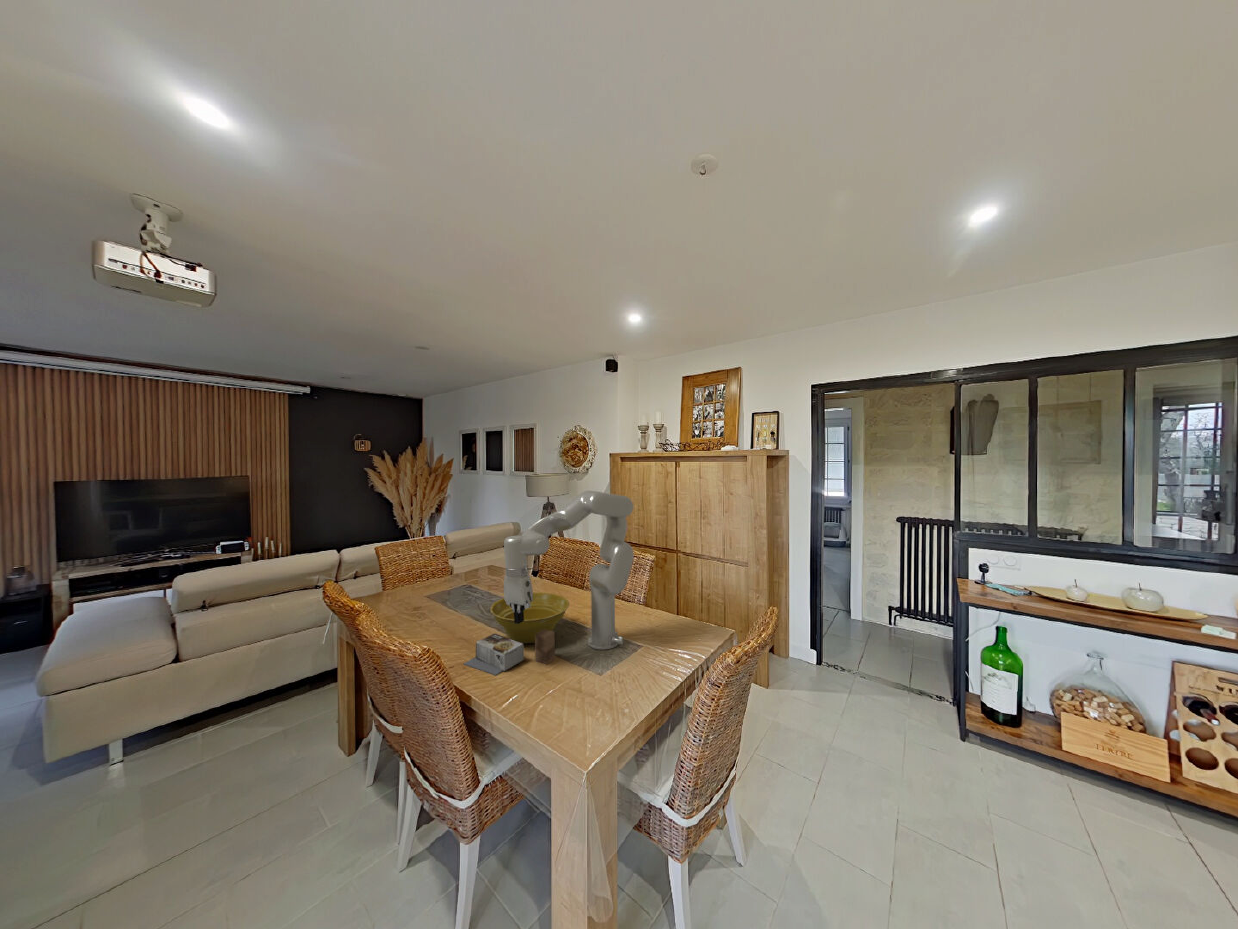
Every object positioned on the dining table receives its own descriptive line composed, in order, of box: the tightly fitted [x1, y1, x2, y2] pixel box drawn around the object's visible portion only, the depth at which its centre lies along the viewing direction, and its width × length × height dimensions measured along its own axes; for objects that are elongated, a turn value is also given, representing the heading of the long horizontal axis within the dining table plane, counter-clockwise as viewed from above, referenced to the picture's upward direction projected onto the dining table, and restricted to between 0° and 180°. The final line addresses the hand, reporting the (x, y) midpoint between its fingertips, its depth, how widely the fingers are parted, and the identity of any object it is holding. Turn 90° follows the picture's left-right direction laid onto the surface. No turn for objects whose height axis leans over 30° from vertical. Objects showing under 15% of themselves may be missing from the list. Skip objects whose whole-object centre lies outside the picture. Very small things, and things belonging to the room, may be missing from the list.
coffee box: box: [475, 633, 525, 672], centre depth 148 cm, size 9×6×16 cm
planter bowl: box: [490, 592, 570, 644], centre depth 169 cm, size 32×32×13 cm
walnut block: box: [534, 630, 556, 665], centre depth 149 cm, size 5×5×10 cm
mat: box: [463, 656, 505, 676], centre depth 147 cm, size 16×12×1 cm
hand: (519, 622), depth 143 cm, fingers closed
